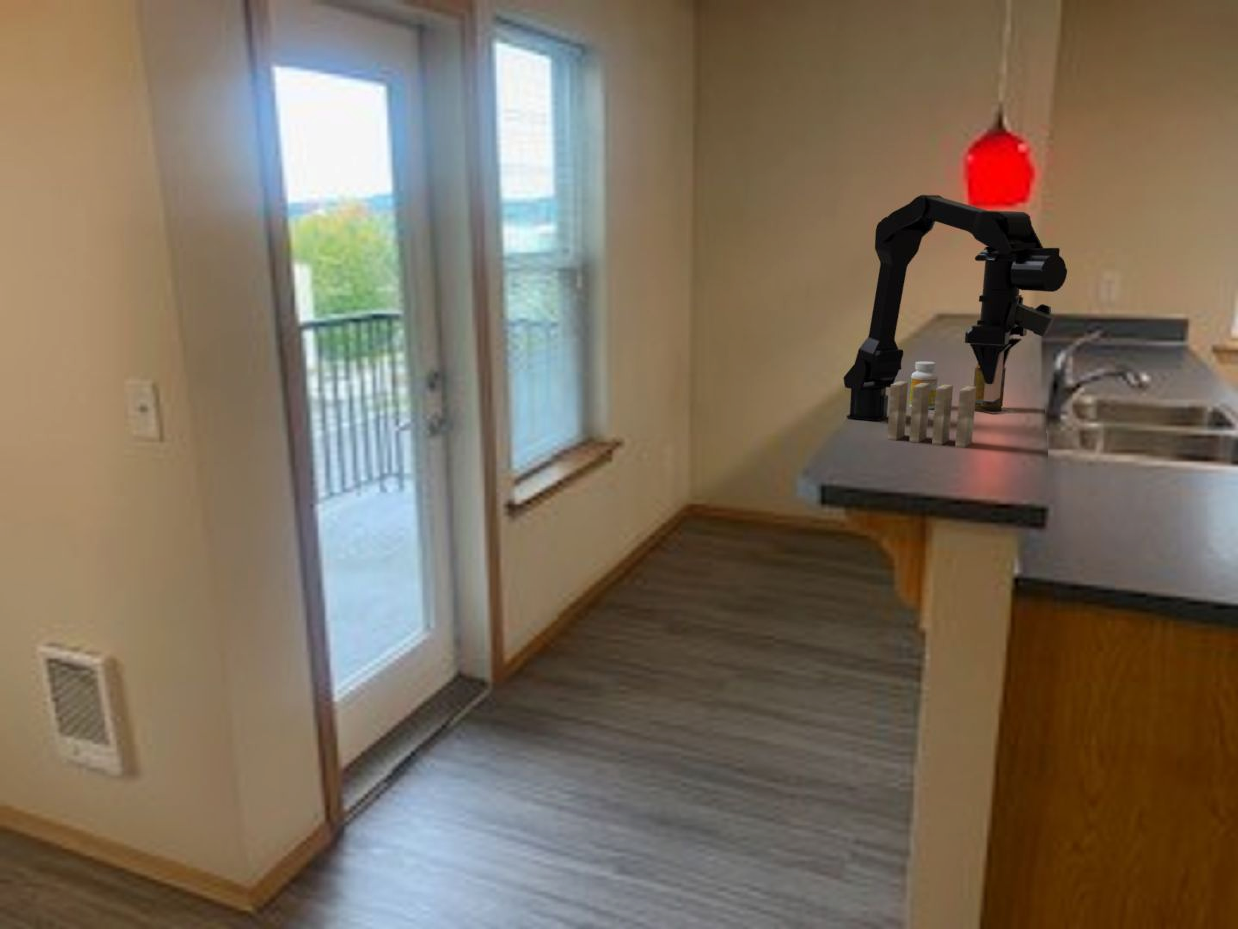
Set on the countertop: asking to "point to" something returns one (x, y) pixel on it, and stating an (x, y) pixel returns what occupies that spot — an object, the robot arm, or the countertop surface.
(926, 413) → the domino
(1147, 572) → the countertop surface
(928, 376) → the supplement bottle
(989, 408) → the condiment
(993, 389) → the domino
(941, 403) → the domino
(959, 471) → the countertop surface
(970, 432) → the domino
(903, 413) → the domino
